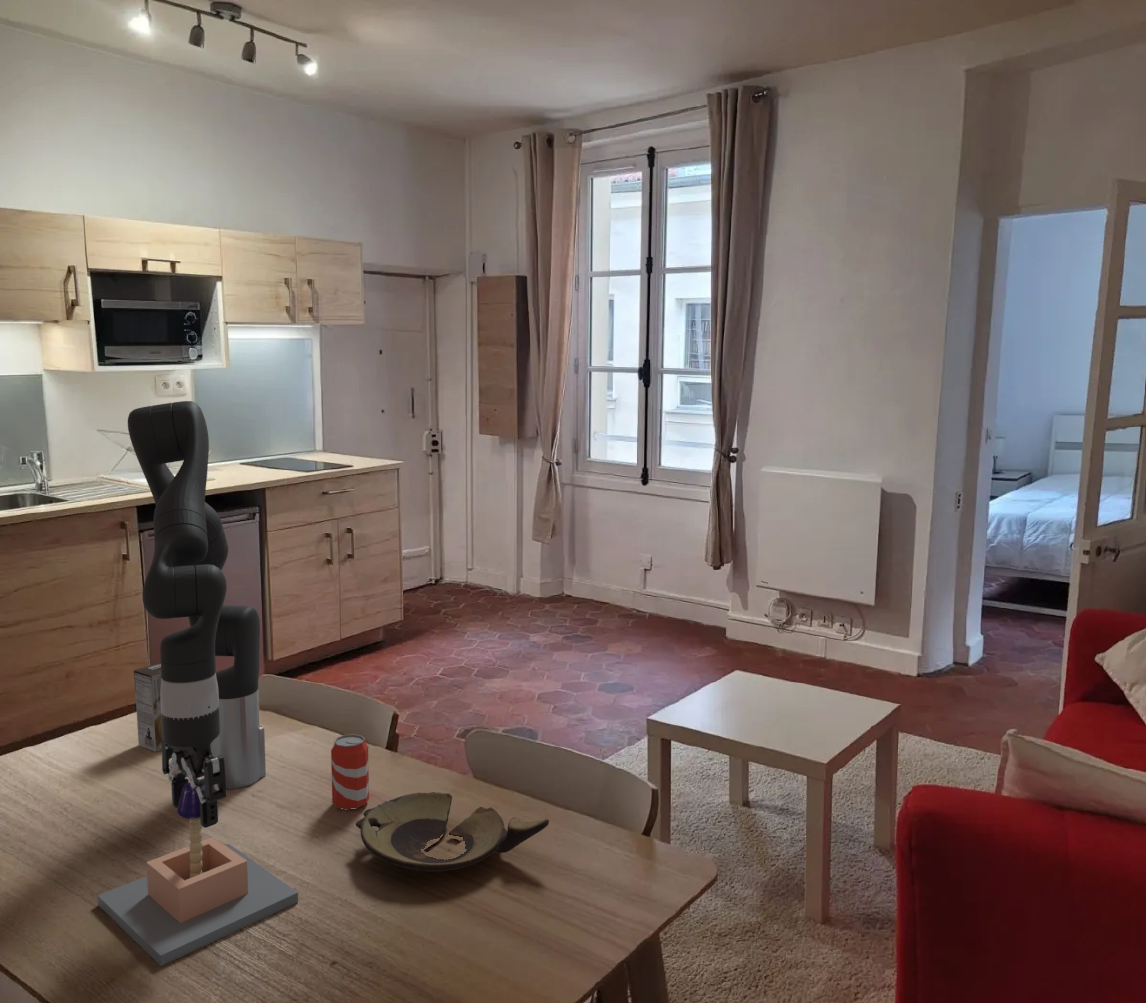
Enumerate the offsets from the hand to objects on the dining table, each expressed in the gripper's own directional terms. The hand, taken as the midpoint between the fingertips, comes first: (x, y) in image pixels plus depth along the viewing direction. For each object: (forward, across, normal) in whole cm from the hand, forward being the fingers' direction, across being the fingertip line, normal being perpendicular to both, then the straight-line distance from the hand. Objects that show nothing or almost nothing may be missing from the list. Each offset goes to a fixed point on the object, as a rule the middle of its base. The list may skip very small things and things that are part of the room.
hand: (194, 815), depth 131 cm
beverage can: (+14, +10, -33) cm, 37 cm away
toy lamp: (+12, 0, 0) cm, 12 cm away
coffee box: (+14, +60, -23) cm, 66 cm away
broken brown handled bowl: (+14, -16, -33) cm, 39 cm away
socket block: (+14, 0, 0) cm, 14 cm away
